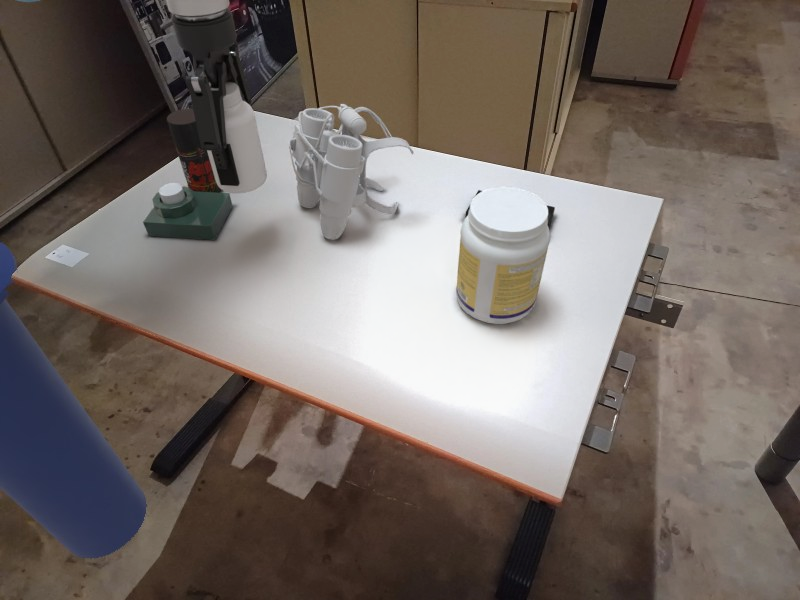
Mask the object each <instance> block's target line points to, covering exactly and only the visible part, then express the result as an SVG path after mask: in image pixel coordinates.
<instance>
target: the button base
mask: <svg viewBox="0 0 800 600" xmlns="http://www.w3.org/2000/svg"><path fill="white" fill-rule="evenodd" d="M182 187H183V190H184V193H185V196H186V198H185V200H183V201H182V202H180V203H177V204H173V205H167V204H164V203H163V202H162V200H161V197H160V195H159V191H158V192H156V193H155V195H154V196H153V198H152V199H151V200H152V205H153V207H152V209H151V210H150V212H149V213H148V215H147V216H146V217H145V219H144V220H143V222H142V223H143V226H144V228H145V230H146V233H147V235H148V237H159V238H160V237H162V238H177V239H179V238H180V239H195V240H211V241H215V240H216V239H217V237H218V235H219V233H220V231H221V230H222V227H223V225H224V224H225V222H226V220H227V219H228V216H229V215H230V213H231V211H232V209H233V208H234V206H233V202H232V198H231V193H229V192H219V193H216V192H198V191H193V190H192V189H190V188H189V187H188V186H183V185H182Z"/></svg>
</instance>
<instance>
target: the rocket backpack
mask: <svg viewBox="0 0 800 600" xmlns="http://www.w3.org/2000/svg"><path fill="white" fill-rule="evenodd" d="M326 109H337V111H338V120H339V122H340V123H341V124H340V126H339V127H338V128H339V129H337V131H336V130H334V129H335V115H334V113H332V112H330V111H328V110H326ZM360 112H365V113H367V114H369V115H370V116H371V118H372V119H373V120H374V121H375V123H377V125H379V126H380V127H381V129H382V131H383V133H384V135H385V137H384V138H379V139H375V140H371V141H367V140H365V139H364V138H363V137H362V136H361V135H363V134H364V133H365V132H366V130H367V126H368V125H367V121H366V120H365V118H364V117H362V116H361V115H360V114H359V113H360ZM393 147H402V148H406V149H408V150H409V151H410V154H411V155H415V154H414V151H413V149H412V147H411V145H410V144H409V142H408V141H407V140H405V139H404V138H400V137H396V136H395V137H394V136H393V135H391V132H390V131H389V129H388V128H387V126H386V125H385V123H384V122H383V120H382V119H381V118H380V117H379V116H378V115H377V114H376V113H375V112H374V111H373V110H371V109H370V108H367V107H365V106H358V107H356V108H353V107H351V106H348V105H347V104H346V103H340V105H339V106H338V105H325V106H322V107H321V106H320V107H318V108H317V107H309V108H305V109H304V110H300V111H299V112H298V124H294V130H293V136H292V139H290V140H289V154H290V160H291V165H292V168H293V172H294V173H295V179H296V181H297V183H296V184H297V185H296V191H297V192H296V193H297V198H298V199H297V200H298V201H299V205H300V206H302V207H303V208H305V209H312V208H315V207H316V206H317V205H318V203H319V211H320V216H319V219H320V220H319V221H320V229H321V232H322V235H323V237H325V238H326V239H328V240H333V241H334V240H338V239H339V238H340V237H341V236H342V234H343V233H344V231H345V229H346V227H347V224H348V221H349V216H351V214H352V210H353V208H357V207H361V206H364V204H365V205H366V206H367V207H369V208H371V209H372V210H374V211H376V212H378V213H381V214H385V215H393V214H395V213H396V211H397V208H398V207H399V202H398V201H395V203H394V206H391V205H390V206H389V205H385V204H383V203H381V202H378V201H376V200H375V199H373V198H372V197H371V196H370V195H369V194H368V189H367V188H368V187H370V188H372V189H374V190H376V191H377V192H382V191H384V187H383V185H382V184H381V183H379V182H378V181H376V180H374V179H371V178H369V177H367V176H366V175H367V174H366V173H367V172H366V171H367V162H368V158H369V156H370V155H371V154H372V153H373V152H375V151H378V150H381V149H386V148H393ZM367 186H368V187H367Z"/></svg>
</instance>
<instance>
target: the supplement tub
mask: <svg viewBox="0 0 800 600" xmlns="http://www.w3.org/2000/svg"><path fill="white" fill-rule="evenodd" d="M481 191H482V192H480V193H479V194H477V195H476V194H475V195H476V196H475V195H474V197H473V198H472V200H471V201H470V203H469V206H470V209H469V212H468V216H467V217H466V218H465V217H464V220H463V221H462V225H461V228H460V232H459V233H460V234H459V235H460V237H459V239H460V240H459V250H458V264H457V266H458V267H457V277H456V287H455V294H456V297H457V298H456V299H457V301H458V303H459V305H460V307H461V309H462V310H463V311H464V312H465V313H466V314H467V315H468V316H471V318H474V319H476V320H478V321H481V322H484V323H488V324H492V325H493V324H495V325H505V324H511V323H515V322H518V321H520V320H522V319H524V318H525V317H526V316H528V315H529V314H530V313H531V312H532V310H533V309H534V307H535V305H536V303H537V300H538V295H539V294H538V293H539V290H540V286H541V285H540V284H541V281H542V276H543V272H544V267H545V263H546V260H547V259H546V258H547V254H548V250H549V246H550V242H551V231H550V227H549V228H548V225H547V224H548V208H547V204H546V202H545V201H544V200H543V198H541V197H540V196H539V195H537V194H535V193H533V192H531V191H528V190H527V189H523V188H519V187H515V186H496V187H490V188H487V189H484V190H481Z"/></svg>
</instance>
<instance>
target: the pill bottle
mask: <svg viewBox="0 0 800 600" xmlns="http://www.w3.org/2000/svg"><path fill="white" fill-rule="evenodd" d="M225 83H226V96H224V97H223V103H224V116H225V129H226V141H227V144H230V146H231V150H232V154H233V158H234V162H235V166H236V170H237V174H238V178H239V182H240V184H239V186H227V185H221V184H220V181H219V177H218V173H217V170H216V166H215V162H214V159H213V155H212V152H211V151H209V150H207V152H208V156H209V159H210V163H211V166H212V170H213V173H214V177H215V180H216V183H217V185H218V187H219V188H220V189H221V191H224V193H229V194H246V193H250V192H253V191H256V190H258V189H259V188H260V187H261V186H263V185H264V184H265V183H266V181H267V175H268V174H267V168H266V163H265V158H264V153H263V148H262V143H261V139H260V134H259V128H258V123H257V119H256V115H255V111H253V110H254V108H253V109H252V107H253V106H251V105H249V104H248V103H246V102H245V101H242V97H241V95H240V90H239V87H238V85H237V84H235V83H233V82H225ZM211 90H219V88H211Z"/></svg>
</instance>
